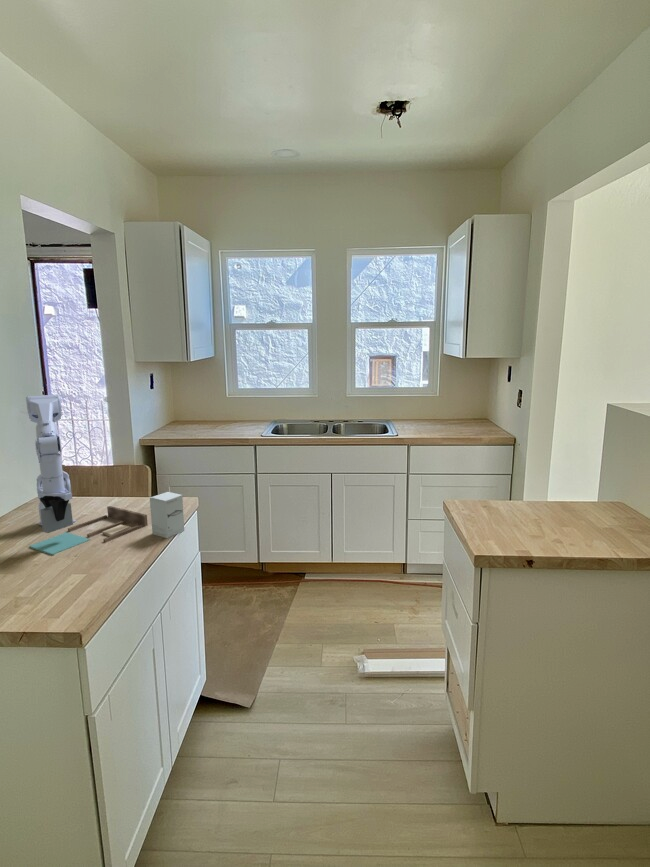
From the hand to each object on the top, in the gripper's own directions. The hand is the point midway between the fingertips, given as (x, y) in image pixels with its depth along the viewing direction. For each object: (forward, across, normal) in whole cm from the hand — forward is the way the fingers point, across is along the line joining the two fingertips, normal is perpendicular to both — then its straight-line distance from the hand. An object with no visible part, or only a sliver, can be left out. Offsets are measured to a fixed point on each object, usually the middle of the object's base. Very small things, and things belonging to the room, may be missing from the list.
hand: (57, 519), depth 146 cm
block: (+3, 0, 0) cm, 3 cm away
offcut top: (+8, +8, +14) cm, 18 cm away
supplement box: (+8, +23, +22) cm, 33 cm away
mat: (+8, 0, 0) cm, 8 cm away
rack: (+8, +2, +14) cm, 16 cm away
